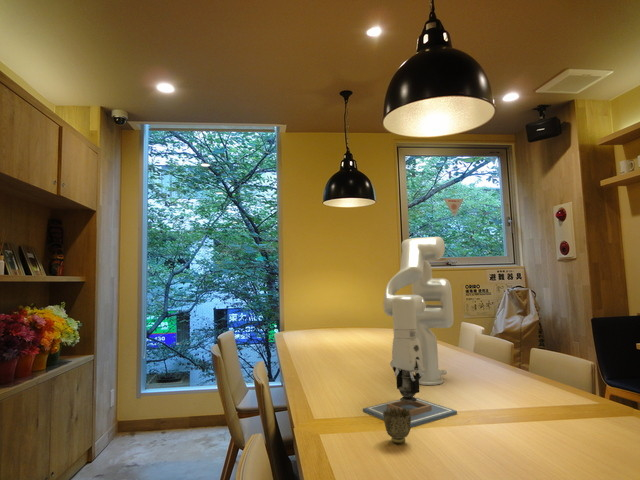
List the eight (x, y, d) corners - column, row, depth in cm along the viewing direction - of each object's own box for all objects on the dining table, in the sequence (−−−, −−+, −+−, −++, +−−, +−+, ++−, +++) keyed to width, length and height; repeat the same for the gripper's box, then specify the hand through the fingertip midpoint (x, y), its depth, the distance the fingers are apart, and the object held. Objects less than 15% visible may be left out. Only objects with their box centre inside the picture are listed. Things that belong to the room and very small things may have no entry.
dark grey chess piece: (417, 402, 129) (415, 363, 130) (399, 402, 130) (397, 363, 132) (417, 397, 135) (415, 360, 136) (399, 396, 136) (397, 360, 137)
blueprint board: (412, 399, 147) (411, 392, 147) (457, 414, 130) (456, 405, 130) (363, 411, 135) (362, 403, 135) (405, 429, 118) (404, 420, 118)
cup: (381, 438, 112) (380, 408, 113) (407, 436, 113) (406, 406, 114) (388, 449, 105) (386, 417, 106) (416, 447, 106) (414, 415, 106)
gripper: (432, 335, 129) (436, 394, 128) (396, 330, 144) (398, 383, 142) (415, 338, 125) (418, 399, 124) (379, 332, 140) (382, 387, 138)
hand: (408, 390), depth 133 cm, fingers closed on dark grey chess piece, 5 cm apart
